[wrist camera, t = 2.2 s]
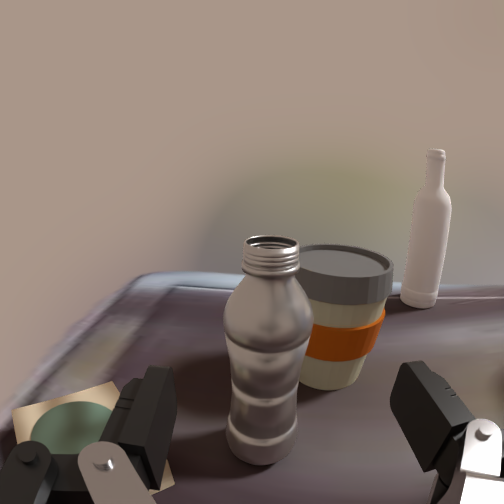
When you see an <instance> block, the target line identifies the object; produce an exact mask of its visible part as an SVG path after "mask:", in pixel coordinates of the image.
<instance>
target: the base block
mask: <svg viewBox="0 0 504 504" xmlns="http://www.w3.org/2000/svg"><path fill="white" fill-rule="evenodd" d="M119 396H120V393H119V391H118V390H117V388H116V387H115V385H114V383H113V382H112V381H111V382H108V383H105V384H102V385H99V386H96V387H92V388H89V389H86V390H83V391H79V392H76V393H73V394H69V395H66V396H62V397H59V398H55V399H52V400H48V401H45V402H41V403H37V404H33V405H30V406H26V407H22V408H18V409H14V410H12V416H13V423H14V428H15V434H16V439H17V444H19V443H21V442H24V441H38V442H40V443H42V444H44V445H45V446H46V447H47V448H48V449H49V451H50V453H51V454H79V453H80V452H81V451H82V449H83V448H85V447H86V446H87V445H89V444H92V443H95V442H98V441H99V439H100V437H101V435H102V432H103V430H104V428H105V426H106V424H107V421H108V419H109V417H110V415H111V413H112V411H113V408H115V404H116V402H117V400H118V399H119ZM173 485H175V482H174V479H173V476H172V473H171V470H170V467H169V464H168V460H167V459H166V464H165V468H164V473H163V478H162V482H161V487H160V491H162V490H164V489H166V488H168V487H170V486H173ZM157 492H159V491H158V490H151V489H149V493H150V495H152V494H155V493H157Z"/></svg>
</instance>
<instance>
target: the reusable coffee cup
mask: <svg viewBox="0 0 504 504" xmlns="http://www.w3.org/2000/svg"><path fill="white" fill-rule="evenodd" d="M299 262H300V270H299V272H298V273H297V274H295V278H296V280H297V281H298V282H299V284H300V285H301V287H302V288H303V290H304V291H305V293H306V295H307V297H308V299H309V300H310V302H311V305H312V310H313V315H314V322H313V327H312V333H311V335H310V339H309V343H308V346H307V350H306V353H305V356H304V360H303V363H302V367H301V372H300V378H299V381H300V382H301V383H303V384H305V385H307V386H309V387H312V388H315V389H320V390H337V389H342V388H345V387H347V386H349V385H351V384H352V383H353V382H355V380H356V379H357V377H358V375H359V373H360V370H361V368H362V365H363V363H364V360H365V358H366V355H367V353H369V352H370V351H371V349H372V348H373V346H374V344H375V341H376V338H377V336H378V333H379V330H380V328H381V325H382V322H383V319H384V316H385V308H384V305H385V302H386V299H387V297H388V296H389V295H390V294H391V292H392V283H393V263H392V261H391V260H390V259H389V258H387V257H385V256H384V255H382V254H380V253H377V252H375V251H372V250H368V249H364V248H360V247H355V246H349V245H340V244H311V245H304V246H300V247H299Z"/></svg>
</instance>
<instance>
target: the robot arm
mask: <svg viewBox="0 0 504 504" xmlns="http://www.w3.org/2000/svg"><path fill="white" fill-rule="evenodd" d="M390 407H391V410H392V412H393V414H394V416H395V418H396V420H397V421H398V423H399V425H400V427H401V429H402V431H403V433H404V435H405V437H406V439H407V440H408V442H409V444H410V446H411V448H412V450H413V452H414V454H415V456H416V458H417V460H418V462H419V464H420V466H421V468H422V470H423V472H427V471H431V470H434V469H436V470H437V472H438V473H437V474H436V476H435V478H434V481H433V484H432V487H431V490H430V493H429V497H428V500H427V503H426V504H504V429H499V427H498V426H497V425H496V424H495V423H493V422H492V421H489V420H486V419H475V417H474V416H473V415H472V413H471V412H470V411H469V410H468V408H467V407H466V406H465V404H464V403H463V402H462V401H461V399H460V398H459V397H458V396H456V393H455V392H454V390H453V389H451V387H450V385H449V384H448V383H447V382H446V380H445V379H444V378H442V377H441V376H439V375H438V374H436V373H435V372H431V370H430V369H429V368H428V367H427V365H426V364H425V363H424V362H423V361H414V362H406V363H403V364H402V365H401V366H400V369H399V372H398V375H397V378H396V381H395V384H394V387H393V390H392V392H391V396H390ZM176 415H177V398H176V391H175V384H174V376H173V370H172V368H171V367H165V366H154V365H150V366H149V367H148V369H147V371H146V373H145V376H144V378H143V379H138V378H133V379H132V380H131V381H130V382H129V383H128V384H126V385H125V386H124V387H123V389H122V391H121V394H120V396H119V399H118V400H117V402H116V404H115V408H113V411H112V413H111V415H110V417H109V419H108V421H107V424H106V426H105V428H104V430H103V432H102V435H101V437H100V439H99V441H98V442H95V443H92V444H89V445H87V446H86V447H85V448H83V449H82V451H81V452H80V453H79V454H51V453H50V451H49V449H48V448H47V447H46V446H45V445H44V444H42V443H40V442H38V441H24V442H21V443H19V444H17V445H16V446H15V447H14V448H13V449H12V451H11V452H10V454H9V456H8V458H7V460H6V461H5V463H4V465H3V467H2V469H1V471H0V504H157V503H156V502H155V501H154V499H153V498H152V496H151V495H150V493H149V489H151V490H158V491H160V487H161V482H162V478H163V473H164V468H165V464H166V459H167V455H168V450H169V446H170V441H171V437H172V433H173V428H174V424H175V420H176Z"/></svg>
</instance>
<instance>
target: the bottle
mask: <svg viewBox="0 0 504 504" xmlns="http://www.w3.org/2000/svg"><path fill="white" fill-rule="evenodd" d="M426 157H427V171H426V185H425V186H424V187H423V188H422V189H420V190H419V191H418V193H417V195H416V197H415V200H414V206H413V216H412V224H411V233H410V240H409V247H408V254H407V261H406V267H405V273H404V279H403V282H402V287H401V294H400V299H401V300H402V302H404V303H405V304H407V305H409V306H411V307H415V308H422V309H425V308H430V307H433V306H434V304H435V301H436V298H437V295H438V288H439V283H440V279H441V274H442V269H443V263H444V258H445V251H446V246H447V240H448V233H449V226H450V218H451V210H452V207H451V201H450V197H449V196H448V194H447V192H446V191H445V189H444V188H443V185H444V169H445V160H446V157H445V151H444V150H439V149H433V148H429V149H428V150H427V156H426Z"/></svg>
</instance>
